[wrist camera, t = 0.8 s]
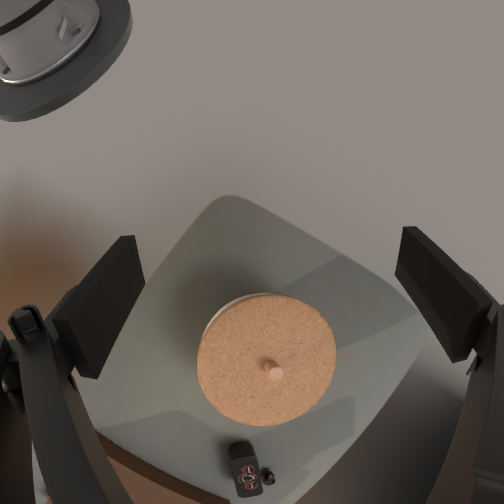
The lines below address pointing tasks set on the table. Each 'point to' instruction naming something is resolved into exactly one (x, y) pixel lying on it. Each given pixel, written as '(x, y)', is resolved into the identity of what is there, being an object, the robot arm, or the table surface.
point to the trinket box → (266, 359)
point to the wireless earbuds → (247, 470)
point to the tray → (151, 481)
